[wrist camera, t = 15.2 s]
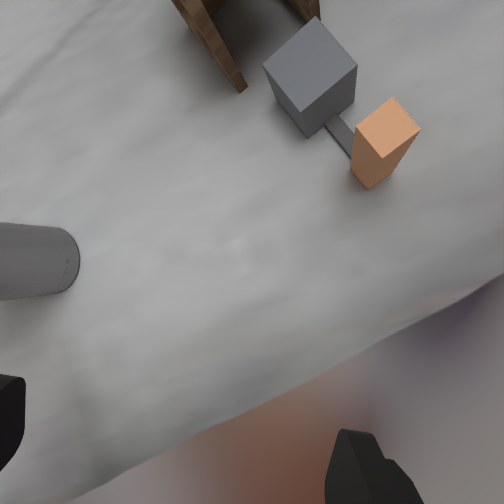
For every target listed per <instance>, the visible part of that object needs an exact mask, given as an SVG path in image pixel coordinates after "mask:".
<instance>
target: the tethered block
mask: <svg viewBox="0 0 504 504" xmlns="http://www.w3.org/2000/svg"><path fill="white" fill-rule="evenodd" d="M262 65H263V68H264V70H265V73H266V75H267V78H268V80H269V82H270V85H271V87H272V90H273V92H274V95H275V97H276V99H277V101H278V102H279V103H280V104H281V106H282V107H283V108H284V109H285V111H286V112H287V113H288V115H289V116H290V117H291V118H292V120H293V121H294V122H295V123H296V125H297V126H298V127H299V129H300V130H301V131H302V132H303V134H304V135H305V136H306V137H307V139H309V138H310V137H311V136H312V135H313V134H315V133H316V132H317V131H318V130H320V129H321V128H322V127H323V126H325V127H326V128H327V130H328V131H329V132H330V133H331V135H332V136H333V137H334V138H335V140H336V141H337V142H338V143H339V145H340V146H341V147H342V148H343V150H344V151H345V152H346V153H347V154H348V156H349V157H350V158H351V164H350V169H351V171H352V172H353V173H354V174H355V176H356V177H357V178H358V179H359V181H360V182H361V183H362V184H363V186H364V187H365V188H366V189H367V191H368V190H369V189H370V188H372V187H373V186H374V185H376V184H377V183H378V182H380V181H381V180H383V179H384V178H385V177H387V176H388V175H389V174H391V173H392V172H393V171H394V169H395V168H396V166H397V165H398V163H399V162H400V160H401V159H402V157H403V156H404V154H405V153H406V151H407V150H408V148H409V147H410V145H411V144H412V142H413V141H414V139H415V138H416V136H417V135H418V133H419V132H420V130H421V129H420V128H419V127H418V125H417V124H416V123H415V122H414V121H413V120H412V118H411V117H410V116H409V115H408V114H407V113H406V112H405V110H404V109H403V108H402V107H401V106H400V105H399V103H398V102H397V101H396V100H395V99H394V98H393V97H392V98H390V99H389V100H388V101H387V102H385V103H384V104H383V105H381V106H380V107H379V108H378V109H376V110H375V111H374V112H373V113H371V114H370V115H369V116H368V117H366V118H365V119H364V120H363V121H361V122H360V123H359V124H357V125H356V126H355V134H353V132H352V131H351V130H350V129H349V128H348V126H347V125H346V124H345V123H344V121H343V120H342V119H341V118H340V117H339V115H338V114H339V113H341V112H342V111H343V110H344V109H346V108H347V107H348V106H349V105H351V104H352V103H353V102H354V96H355V86H356V76H357V66H358V64H357V63H356V62H355V61H354V60H353V59H352V57H351V56H350V55H349V54H348V53H347V52H346V50H345V49H344V48H343V47H342V46H341V45H340V44H339V42H338V41H337V40H336V39H335V38H334V37H333V35H332V34H331V33H330V32H329V31H328V30H327V28H326V27H325V26H324V25H323V24H322V23H321V21H320V20H319V19H318V18H317V17H316V16H315V17H314V18H312V19H311V20H310V21H309V22H308V23H307V24H306V25H305V26H304V27H302V28H301V29H300V30H299V31H298V32H297V33H296V34H295V35H294V36H293V37H291V38H290V39H289V40H288V41H287V42H286V43H285V44H284V45H283V46H281V47H280V48H279V49H278V50H277V51H276V52H275V53H274V54H273V55H272V56H270V57H269V58H268V59H267V60H266V61H265V62H264V63H263V64H262Z"/></svg>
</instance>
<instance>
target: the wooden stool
mask: <svg viewBox="0 0 504 504" xmlns="http://www.w3.org/2000/svg"><path fill="white" fill-rule="evenodd" d="M171 1H172V2H173V4H174V5H175V7H176V8H177V10H178V11H179V13H180V14H181V16H182V17H183V19H184V20H185V22H186V23H187V25H188V26H189V27H190V29H191V30H192V31H193V33H194V34H195V35H196V37H197V38H198V39H199V40H200V42H201V43H202V44H203V46H204V47H205V48H206V50H207V51H208V52H209V54H210V55H211V56H212V57H213V59H214V60H215V61H216V63H217V64H218V65H219V67H220V68H221V69H222V71H223V72H224V73H225V74H226V76H227V77H228V78H229V80H230V81H231V82H232V84H233V85H234V86H235V88H236V89H237V90H238V91H239V93H241V92H242V91H243V90H244V89H245V88H247V87H248V85H247V84H246V82H245V80H244V78H243V76H242V74H241V73H240V71H239V69H238V67H237V65H236V64H235V62H234V60H233V58H232V56H231V54H230V53H229V51H228V49H227V47H226V45H225V44H224V42H223V40H222V38H221V36H220V34H219V33H218V31H217V29H216V27H215V25H214V24H213V22H212V20H211V18H210V17H211V16H212V15H213V14H214V13H215V12H216V11H217V10H218V9H219V8H220V7H221V6H222V5H223V4H224V3H225V2H226V1H227V0H171ZM287 1H288V2H289V3H290V4H291V5H292V6H293V8H294V9H295V10H296V11H297V12H298V14H299V15H300V16H301V17H302V18H303V19H304V21H305V22H306V23H308V22H309V21H310V20H311V19H312V18H314V17H315V16H316V17H317V18H318V19H319V20H320V21H321V18H320V6H319V0H287Z"/></svg>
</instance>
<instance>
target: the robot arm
mask: <svg viewBox="0 0 504 504" xmlns="http://www.w3.org/2000/svg"><path fill="white" fill-rule="evenodd" d="M78 268H79V252H78V249H77V246H76V244H75V242H74V240H73V238H72V237H71V236H70V235H69V234H68V233H67V232H66V231H64V230H62V229H60V228H56V227H48V226H36V225H26V224H14V223H3V222H0V301H6V300H13V299H19V298H26V297H34V296H41V295H47V294H54V293H59V292H62V291H64V290H65V289H67V288H68V287H69V286H70V285H71V284H72V282H73V281H74V280H75V277H76V275H77V272H78ZM25 397H26V383H25V380H24V379H23V378H21V377H16V376H9V375H3V374H0V471H1V470H2V469H3V468H4V467H5V466H6V464H7V463H8V462H9V461H10V460H11V458H12V457H13V456H14V454H15V453H16V451H17V449H18V447H19V446H20V443H21V441H22V438H23V435H24V429H25ZM325 503H326V504H424V503H423V501H422V499H421V497H420V495H419V493H418V491H417V489H416V488H415V486H414V484H413V482H412V481H411V479H410V478H409V477H408V476H407V475H406V474H405V472H404V471H403V470H402V469H401V468H400V467H399V466H398V465H397V463H396V462H395V461H394V460H391V459H385V458H384V456H383V454H382V451H381V449H380V447H379V446H378V443H377V441H376V439H375V437H374V436H373V435H372V434H371V433H366V432H360V431H354V430H348V429H341V430H340V431H339V433H338V435H337V439H336V442H335V446H334V450H333V453H332V456H331V460H330V463H329V467H328V471H327V474H326V479H325Z"/></svg>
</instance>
